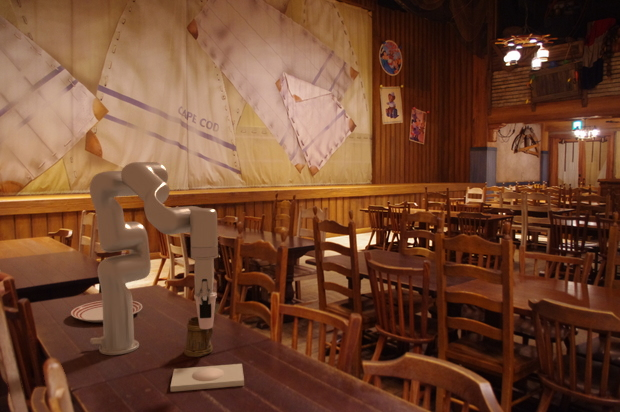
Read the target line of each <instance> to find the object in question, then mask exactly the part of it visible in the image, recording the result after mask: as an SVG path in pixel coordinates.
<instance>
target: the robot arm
mask: <svg viewBox="0 0 620 412" xmlns="http://www.w3.org/2000/svg"><path fill="white" fill-rule="evenodd" d="M168 180H169V173H168V170H167V169H166V167H165V166H164V165H163V164H162V163H160V162H156V161H149V162H148V161H137V162H136V161H134V162H131V163H127V164H126V165H124V167H123V168H122V169H121V170H108V171H107V170H106V171H102V172H98V173H97V174H94V176H93V177H92V179H91V181H90V184H89V195H90V199H91V202H92V204H93V207H94V211H95V215H96V225H97V233H98V242H99V246H100V248H101V250H102V251H103V252H106V253H115V252H116V253H117V252H122V251H123V252H125V251H129V252H128V253H127V254H120V255H118V254H117V255H114V256H113V255H112V256H109V257H106V258H103V260H101V261H100V262H99V264H98V265H97V271H96V272H97V276H98V281H99V285H100V292H101V301H102V307H103V322H102V324H103V325H102V327H103V329H102V330H103V336H100V337H91V338H90V340H89V341H90V342H89V343H90V344H91V345H92V346H98V347H99V348H98V351H99V353H101V354H102V355H108V356H119V355H125V354H130V353H132V352H134V351H136V350H138V348H139V347H140V343H139V341H138V340H136V339H135V333H134V332H135V330H134V329H135V327H134V314H133V301H134V300H133V295H132V294H133V293H132V292H131V290H130V289H129V288H128V287H127V286H126V285H127V283H131V282H137V281H140V280H143V279H145V278H147V277H148V276H149V275H150V273H151V269H152V263H151V256H150V255H151V254H150V253H151V252H150V244H149V236H148V232H147V230H146V228H145V226H144V225H143V224H142V223H140V222H139V221H125V216H124V215H125V214H124V211H123V210H124V209H123V207H122V205H121V204H120V203H119V201H118V200H117V199H116V197H117V198H119V197H132V196H133V197H134V196H136V197H138V198H139V199H140V200H141V201H143V203H144V205H143V209H144V214H145V217H146V219H147V221H148V222H149V224H151V225H152V226H153V227H154V228H155V229H157V230H158V231H159V232H160V233H162V234H165V235H168V236H171V235H177V234H185V233H186V234H187V233H190V234H189V235H190V236H189V237H190V258H191V259H193V260H194V294H197V293H199V292H200V304H199V307H200V318H211V303H210V294H211V293H212V292H214V291H213V290H214V281H215V261H214V260H215V259H217V258H218V257H219V248H218V246H219V242H218V241H219V240H218V239H219V236H218V235H219V234H218V212H217V210H216V209H214V208H210V207H209V208H207V207H203V208H202V207H199V206H195V205H194V206H193V205H190V206H178V207H169V208H168V207H167V206H165V205H164V203H165V202H167V199H168V197H169V196H170V191H171V190H170V186H169V185H168V183H167V182H168ZM207 291H209V293H207ZM207 295H208V296H207Z"/></svg>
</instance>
